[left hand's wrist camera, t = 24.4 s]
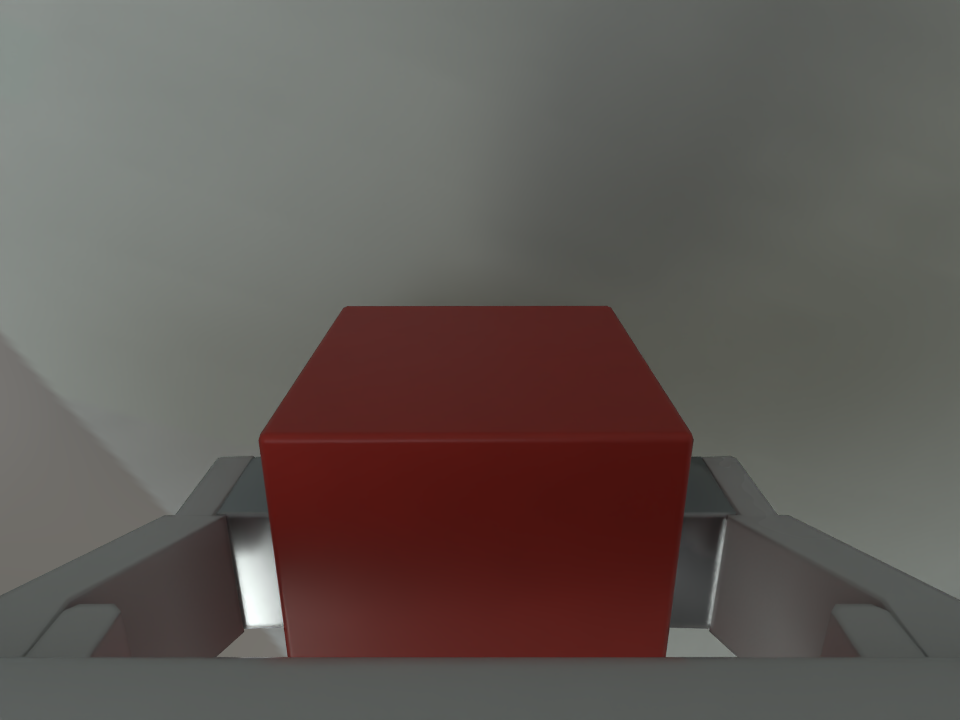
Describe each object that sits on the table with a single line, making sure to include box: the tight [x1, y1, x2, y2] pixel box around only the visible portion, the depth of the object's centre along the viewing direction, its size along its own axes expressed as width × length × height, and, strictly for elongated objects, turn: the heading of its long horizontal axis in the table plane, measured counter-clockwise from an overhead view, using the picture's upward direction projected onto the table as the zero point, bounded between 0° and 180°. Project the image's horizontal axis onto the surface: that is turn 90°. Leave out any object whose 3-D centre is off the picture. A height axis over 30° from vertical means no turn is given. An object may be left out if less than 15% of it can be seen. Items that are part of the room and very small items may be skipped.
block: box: [259, 306, 694, 657], centre depth 10 cm, size 5×5×5 cm
